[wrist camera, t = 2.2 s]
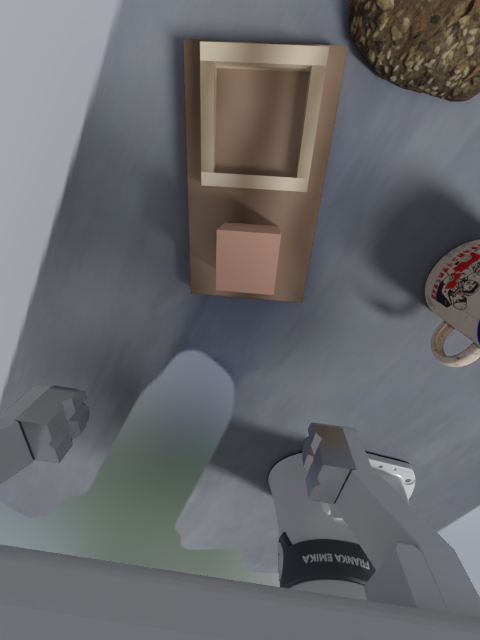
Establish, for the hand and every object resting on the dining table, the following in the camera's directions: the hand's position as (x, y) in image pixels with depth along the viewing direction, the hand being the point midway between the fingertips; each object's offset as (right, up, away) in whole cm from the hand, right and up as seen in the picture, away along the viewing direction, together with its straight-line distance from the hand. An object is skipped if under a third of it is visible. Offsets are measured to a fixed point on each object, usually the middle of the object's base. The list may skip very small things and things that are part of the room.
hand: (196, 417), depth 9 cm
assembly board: (+3, +15, +15) cm, 22 cm away
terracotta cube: (+3, +10, +16) cm, 20 cm away
